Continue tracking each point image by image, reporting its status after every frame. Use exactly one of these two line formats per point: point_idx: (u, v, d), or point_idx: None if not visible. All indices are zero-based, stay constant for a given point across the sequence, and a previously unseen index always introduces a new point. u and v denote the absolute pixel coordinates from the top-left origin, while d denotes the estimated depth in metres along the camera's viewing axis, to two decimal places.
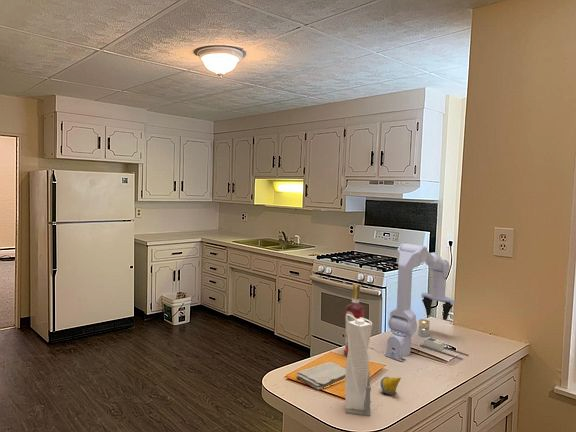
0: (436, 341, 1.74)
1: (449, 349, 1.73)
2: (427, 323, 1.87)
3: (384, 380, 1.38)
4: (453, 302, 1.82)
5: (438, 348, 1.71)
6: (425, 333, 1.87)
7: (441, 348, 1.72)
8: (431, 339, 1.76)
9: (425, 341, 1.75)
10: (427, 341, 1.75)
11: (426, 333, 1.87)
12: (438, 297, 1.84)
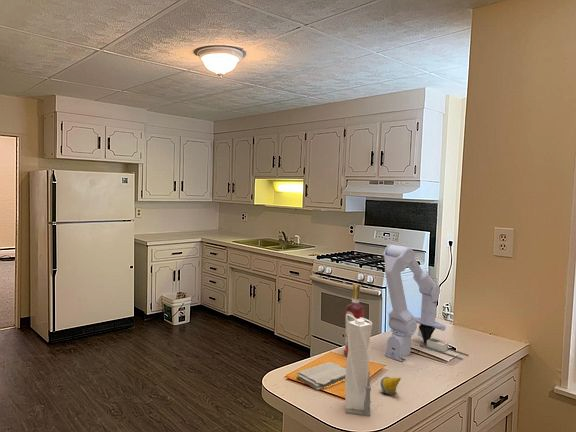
0: (439, 342, 1.73)
1: (449, 349, 1.73)
2: None
3: (384, 380, 1.38)
4: (443, 328, 1.71)
5: (441, 349, 1.70)
6: None
7: (444, 349, 1.71)
8: (434, 340, 1.75)
9: (428, 342, 1.74)
10: (430, 342, 1.74)
11: None
12: (428, 322, 1.74)
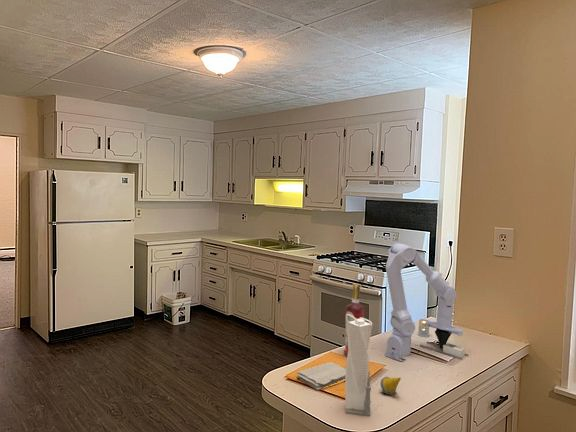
0: (456, 347, 1.68)
1: None
2: None
3: (384, 380, 1.38)
4: (461, 333, 1.66)
5: (459, 355, 1.65)
6: (425, 333, 1.87)
7: (462, 355, 1.66)
8: (451, 345, 1.70)
9: (445, 347, 1.69)
10: (447, 347, 1.69)
11: (426, 333, 1.87)
12: (444, 327, 1.69)
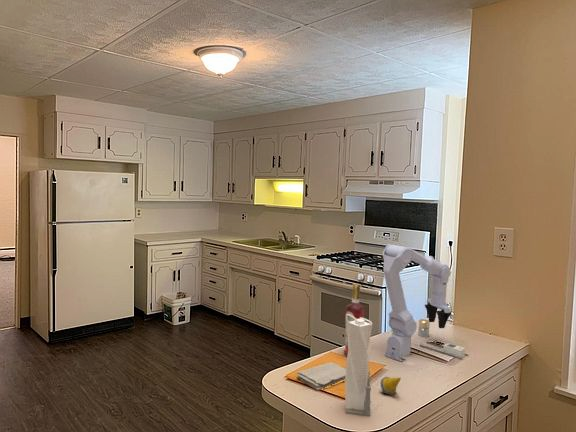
0: (456, 347, 1.68)
1: None
2: (427, 323, 1.87)
3: (384, 380, 1.38)
4: (447, 310, 1.70)
5: (459, 355, 1.65)
6: (425, 333, 1.87)
7: (462, 355, 1.66)
8: (451, 345, 1.70)
9: (445, 347, 1.69)
10: (447, 347, 1.69)
11: (426, 333, 1.87)
12: (434, 303, 1.75)
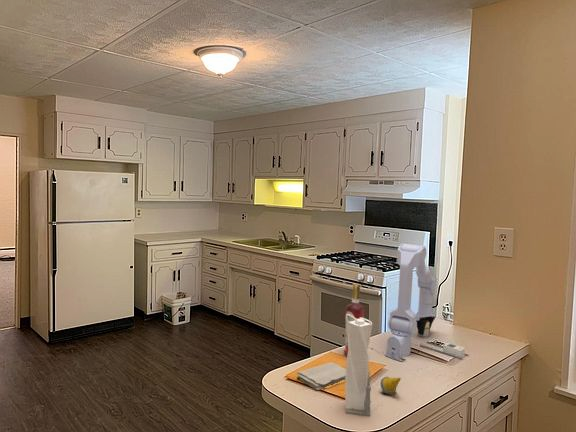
0: (456, 347, 1.68)
1: None
2: (427, 323, 1.87)
3: (384, 380, 1.37)
4: (415, 317, 1.84)
5: (459, 355, 1.65)
6: (425, 333, 1.87)
7: (462, 355, 1.66)
8: (451, 345, 1.70)
9: (445, 347, 1.69)
10: (447, 347, 1.69)
11: (426, 333, 1.87)
12: (418, 311, 1.89)
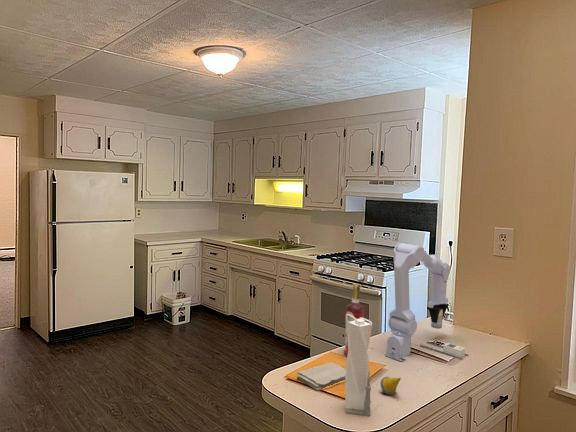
0: (456, 347, 1.68)
1: None
2: (440, 311, 1.82)
3: (384, 380, 1.37)
4: (429, 305, 1.79)
5: (459, 355, 1.65)
6: (438, 321, 1.82)
7: (462, 355, 1.66)
8: (451, 345, 1.70)
9: (445, 347, 1.69)
10: (447, 347, 1.69)
11: (439, 321, 1.82)
12: (431, 298, 1.84)
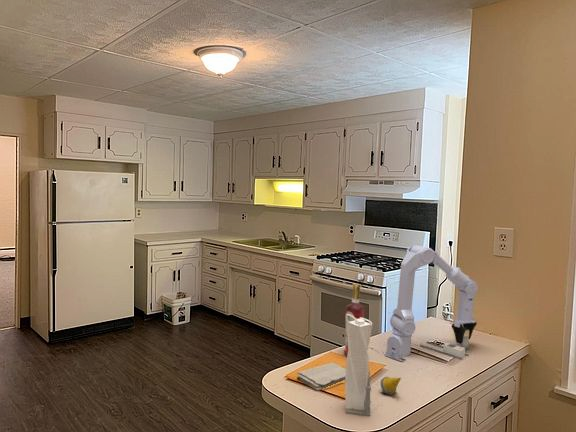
0: (456, 347, 1.68)
1: None
2: (467, 332, 1.73)
3: (384, 380, 1.37)
4: (455, 324, 1.70)
5: (459, 355, 1.65)
6: (465, 342, 1.73)
7: (462, 355, 1.66)
8: (451, 345, 1.70)
9: (445, 347, 1.69)
10: (447, 347, 1.69)
11: (466, 342, 1.73)
12: (457, 317, 1.75)
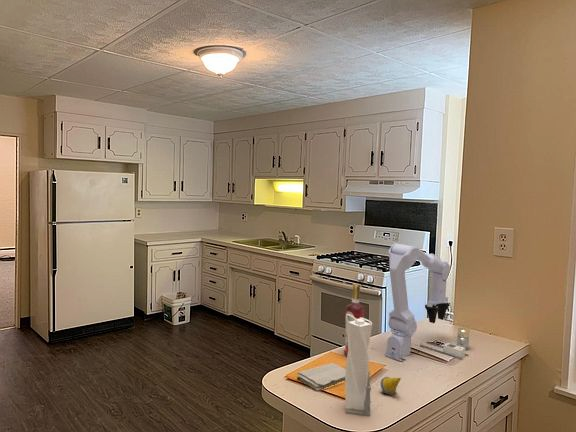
0: (456, 347, 1.68)
1: None
2: (467, 332, 1.73)
3: (384, 380, 1.37)
4: (428, 304, 1.76)
5: (459, 355, 1.65)
6: (465, 343, 1.73)
7: (462, 355, 1.66)
8: (451, 345, 1.70)
9: (445, 347, 1.69)
10: (447, 347, 1.69)
11: (466, 343, 1.73)
12: (430, 298, 1.81)
